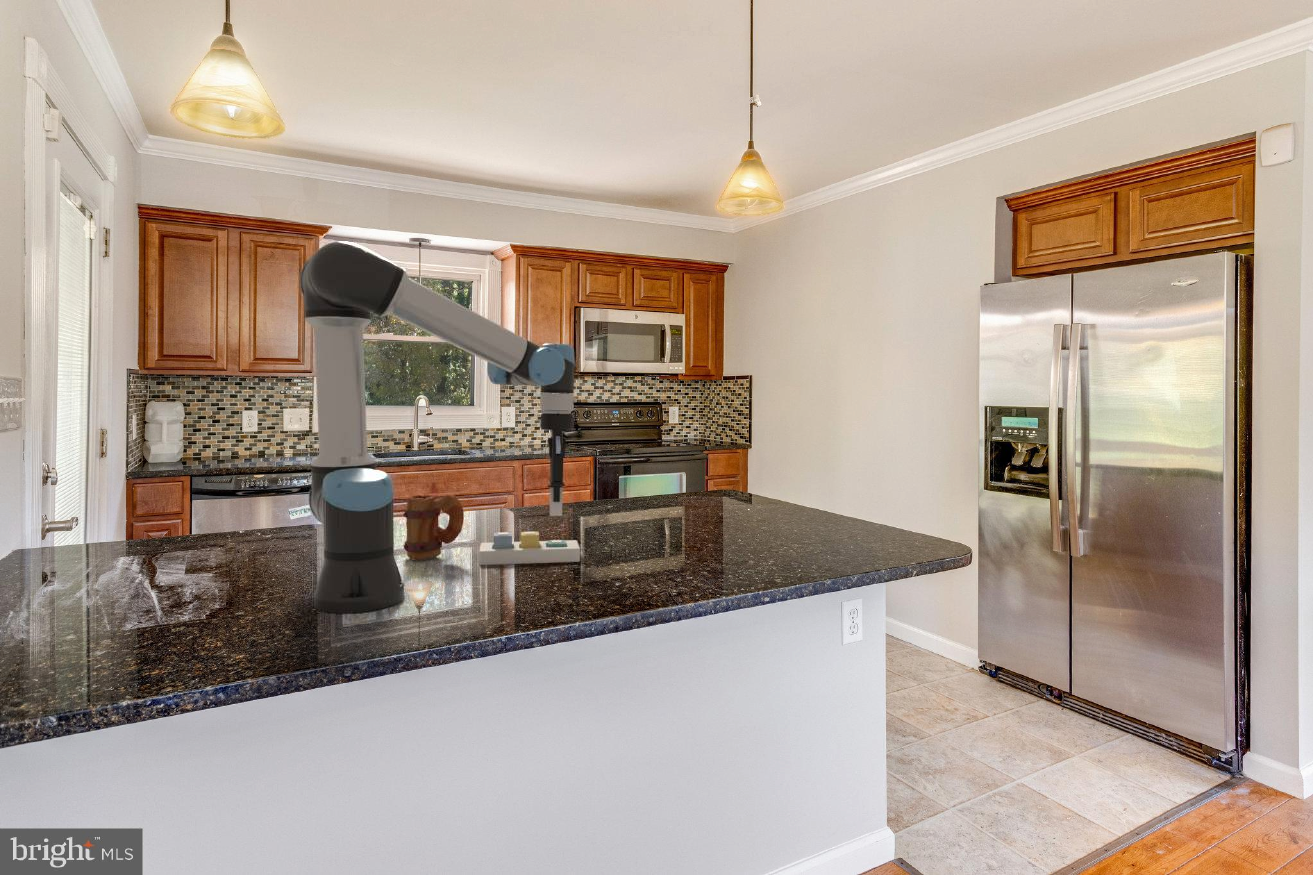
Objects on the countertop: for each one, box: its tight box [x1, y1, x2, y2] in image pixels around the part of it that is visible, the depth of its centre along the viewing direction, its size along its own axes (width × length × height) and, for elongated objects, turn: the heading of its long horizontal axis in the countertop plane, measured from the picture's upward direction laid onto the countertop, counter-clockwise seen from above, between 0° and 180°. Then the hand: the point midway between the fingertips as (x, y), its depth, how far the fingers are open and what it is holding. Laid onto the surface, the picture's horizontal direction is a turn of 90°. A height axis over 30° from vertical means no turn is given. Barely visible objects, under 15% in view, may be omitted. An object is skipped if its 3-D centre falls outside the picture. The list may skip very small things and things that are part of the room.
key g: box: [546, 539, 566, 547], centre depth 166 cm, size 4×4×3 cm
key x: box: [520, 531, 540, 548], centre depth 164 cm, size 4×4×3 cm
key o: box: [493, 531, 513, 549], centre depth 163 cm, size 4×4×3 cm
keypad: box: [478, 539, 581, 566], centre depth 164 cm, size 22×9×3 cm, turn 101°
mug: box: [402, 493, 465, 561], centre depth 162 cm, size 15×8×15 cm, turn 73°
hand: (555, 515), depth 165 cm, fingers closed
